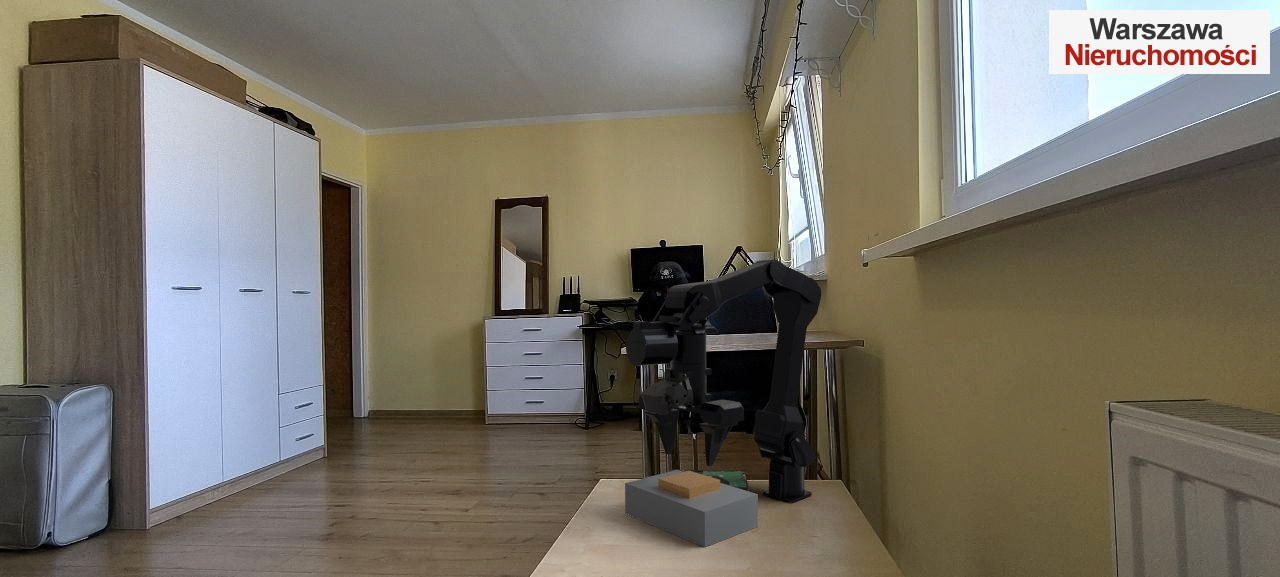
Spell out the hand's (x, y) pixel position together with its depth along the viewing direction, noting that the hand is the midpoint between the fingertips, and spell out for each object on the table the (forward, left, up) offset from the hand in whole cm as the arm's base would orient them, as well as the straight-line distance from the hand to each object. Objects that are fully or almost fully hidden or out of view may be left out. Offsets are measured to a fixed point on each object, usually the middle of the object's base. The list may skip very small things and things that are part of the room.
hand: (688, 459), depth 97 cm
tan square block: (0, 0, -9) cm, 9 cm away
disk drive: (-14, -9, -10) cm, 20 cm away
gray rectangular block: (0, 0, -10) cm, 10 cm away
